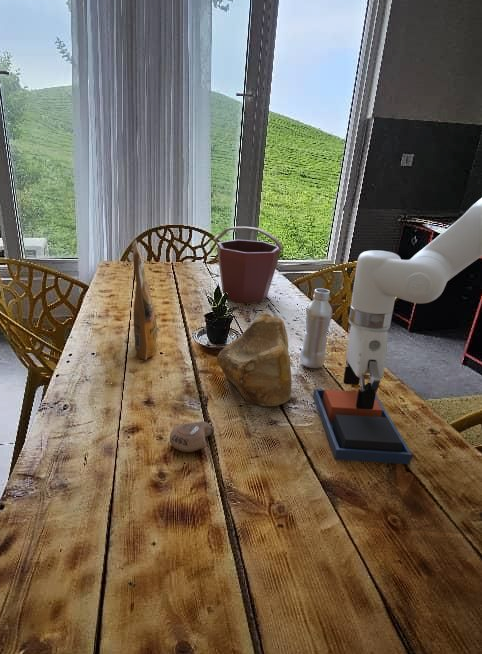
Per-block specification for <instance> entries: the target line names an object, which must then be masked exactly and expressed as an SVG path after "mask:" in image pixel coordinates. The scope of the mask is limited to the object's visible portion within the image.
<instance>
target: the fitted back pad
mask: <svg viewBox="0 0 482 654" xmlns="http://www.w3.org/2000/svg"><path fill="white" fill-rule="evenodd" d="M333 432H334V434H335V437H336V440H337V442H338V445H339V448H345V449H360V450H376V451H391V452H400V451H401V447H402V442H401V440H400V438H399V437H398V435H397V433H396V431H395V430H394V428H393V426H392V425H391V423H390V421H389V420H388V418H385V417H369V416H353V415H337V414H335V419H334V424H333Z"/></svg>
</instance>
